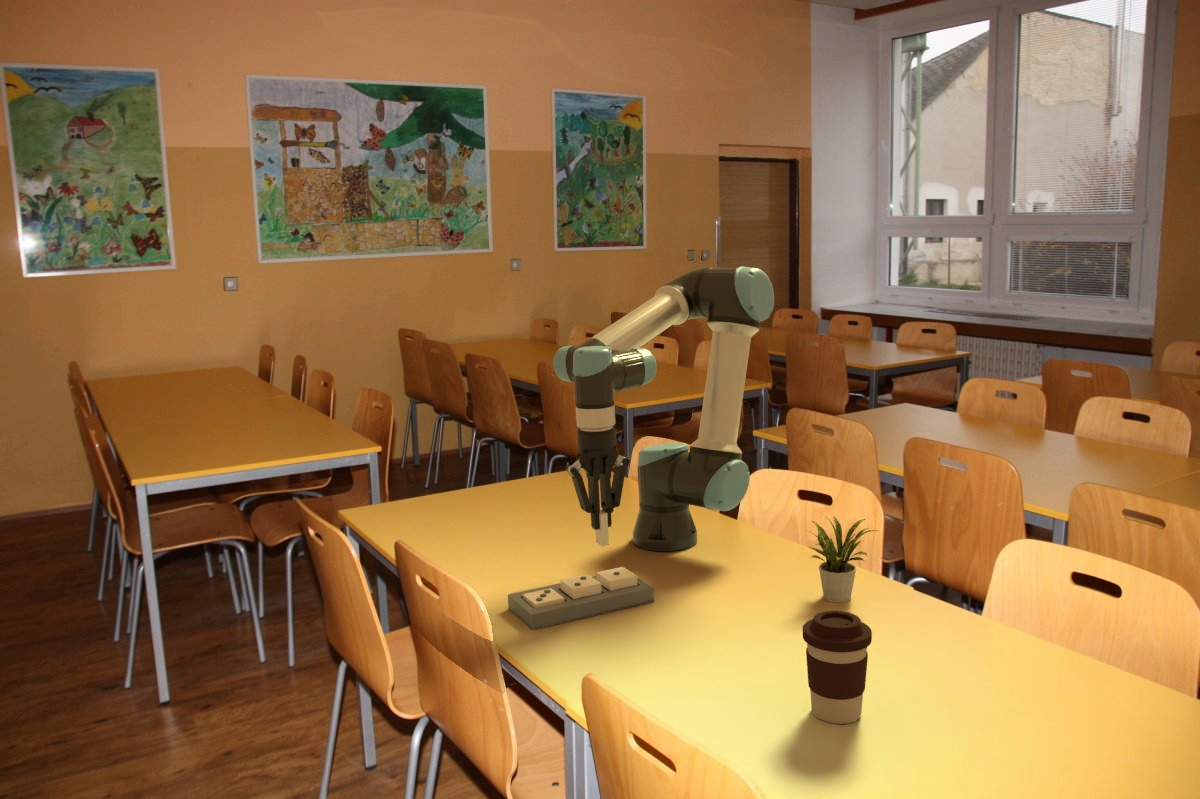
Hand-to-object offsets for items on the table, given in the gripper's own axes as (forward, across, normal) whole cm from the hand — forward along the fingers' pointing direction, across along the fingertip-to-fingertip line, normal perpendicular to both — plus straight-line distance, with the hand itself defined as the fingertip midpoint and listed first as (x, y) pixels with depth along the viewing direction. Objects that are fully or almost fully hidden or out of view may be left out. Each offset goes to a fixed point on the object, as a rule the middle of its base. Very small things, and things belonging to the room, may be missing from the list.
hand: (602, 543), depth 192 cm
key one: (+9, -2, 0) cm, 9 cm away
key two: (+9, +5, 0) cm, 10 cm away
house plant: (+13, -41, +23) cm, 49 cm away
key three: (+10, +14, +1) cm, 17 cm away
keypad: (+12, +6, 0) cm, 13 cm away
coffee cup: (+12, -9, +59) cm, 61 cm away
